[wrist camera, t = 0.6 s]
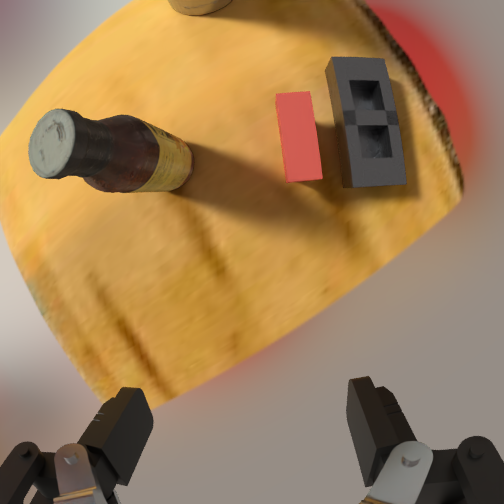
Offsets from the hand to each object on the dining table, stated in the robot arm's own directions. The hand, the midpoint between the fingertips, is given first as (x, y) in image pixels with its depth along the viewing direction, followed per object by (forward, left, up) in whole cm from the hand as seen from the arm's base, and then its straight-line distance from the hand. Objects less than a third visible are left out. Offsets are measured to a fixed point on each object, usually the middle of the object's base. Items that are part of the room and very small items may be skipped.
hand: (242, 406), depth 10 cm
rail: (-14, +13, -24) cm, 31 cm away
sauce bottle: (-12, -9, -24) cm, 28 cm away
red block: (-12, +5, -24) cm, 27 cm away
